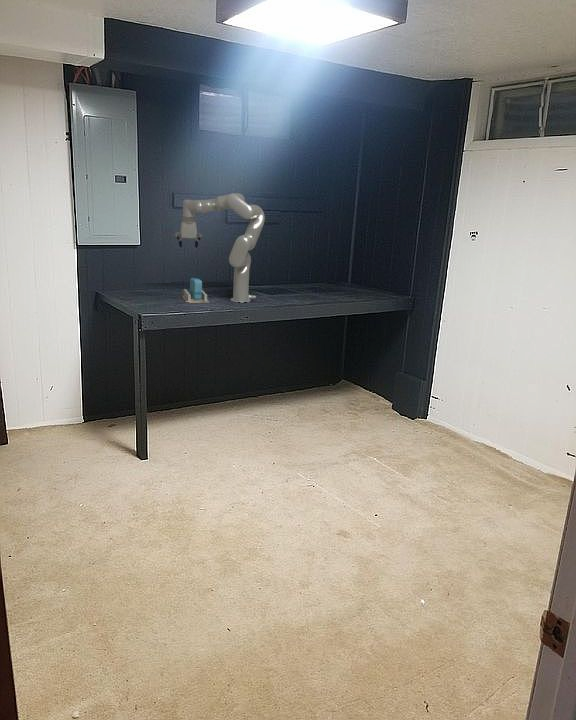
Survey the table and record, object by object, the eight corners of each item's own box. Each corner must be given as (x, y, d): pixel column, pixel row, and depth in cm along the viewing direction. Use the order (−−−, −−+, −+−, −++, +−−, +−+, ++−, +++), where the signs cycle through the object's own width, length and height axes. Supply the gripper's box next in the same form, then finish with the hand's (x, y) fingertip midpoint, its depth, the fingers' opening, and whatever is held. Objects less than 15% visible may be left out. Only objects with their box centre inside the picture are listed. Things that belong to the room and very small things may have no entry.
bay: (181, 296, 373) (181, 289, 371) (203, 296, 377) (203, 289, 376) (186, 302, 355) (186, 294, 353) (209, 302, 359) (209, 295, 358)
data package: (201, 300, 361) (202, 280, 358) (194, 300, 360) (194, 280, 356) (196, 296, 372) (197, 277, 368) (189, 296, 370) (190, 277, 367)
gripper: (201, 220, 373) (201, 247, 378) (174, 218, 368) (174, 246, 373) (203, 220, 366) (203, 248, 371) (175, 219, 361) (175, 247, 366)
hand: (188, 247), depth 372 cm, fingers open, 9 cm apart
